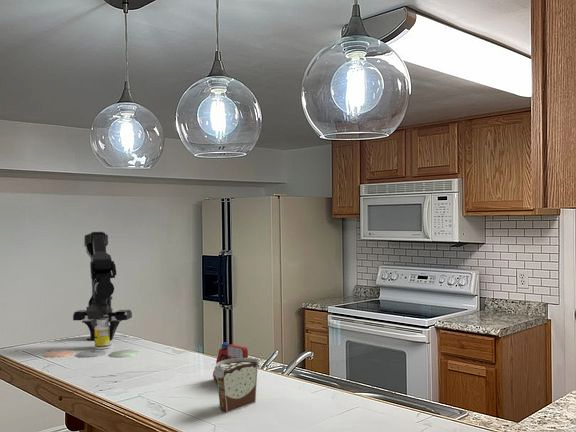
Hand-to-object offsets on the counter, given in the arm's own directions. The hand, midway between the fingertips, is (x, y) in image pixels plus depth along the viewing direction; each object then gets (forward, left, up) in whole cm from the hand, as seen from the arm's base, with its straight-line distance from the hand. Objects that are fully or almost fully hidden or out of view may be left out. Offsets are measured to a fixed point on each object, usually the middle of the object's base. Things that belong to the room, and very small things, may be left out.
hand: (103, 340), depth 203 cm
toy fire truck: (+44, +52, -3) cm, 68 cm away
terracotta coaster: (+10, -11, -3) cm, 15 cm away
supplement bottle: (0, 0, -3) cm, 3 cm away
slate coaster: (+10, 0, -3) cm, 10 cm away
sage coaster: (+10, +11, -3) cm, 15 cm away
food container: (+63, +55, -3) cm, 84 cm away
